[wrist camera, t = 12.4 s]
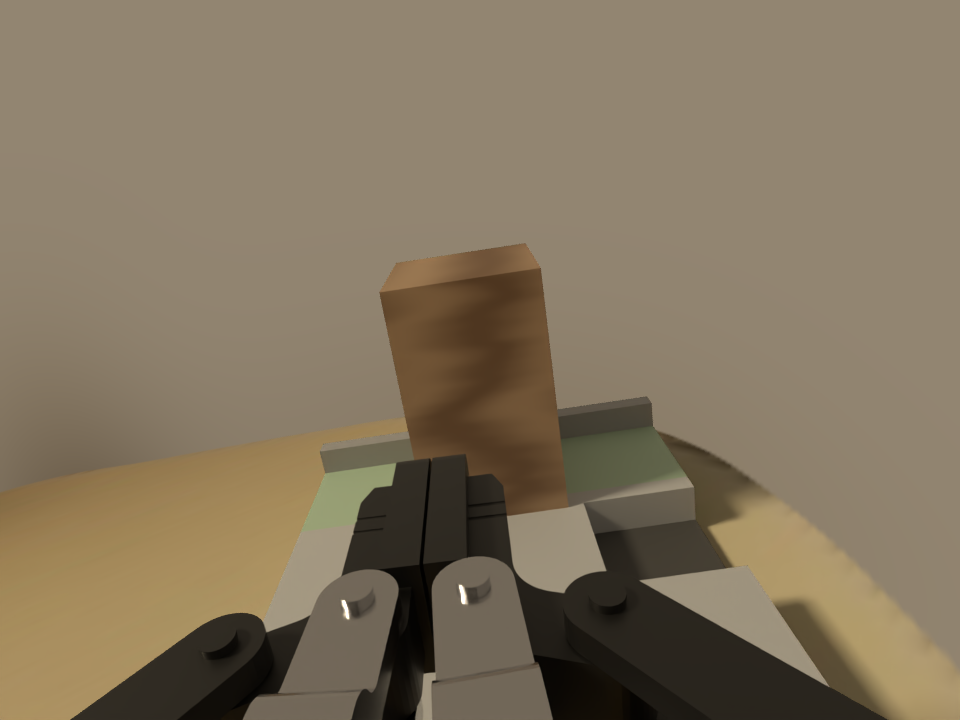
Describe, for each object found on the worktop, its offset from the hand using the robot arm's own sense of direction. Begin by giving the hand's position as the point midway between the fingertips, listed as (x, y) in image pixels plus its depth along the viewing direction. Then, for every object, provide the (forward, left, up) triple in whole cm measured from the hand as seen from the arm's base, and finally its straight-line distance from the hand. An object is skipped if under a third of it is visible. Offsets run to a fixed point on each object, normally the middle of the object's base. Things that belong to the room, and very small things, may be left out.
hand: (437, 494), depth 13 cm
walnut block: (+1, +18, -10) cm, 21 cm away
